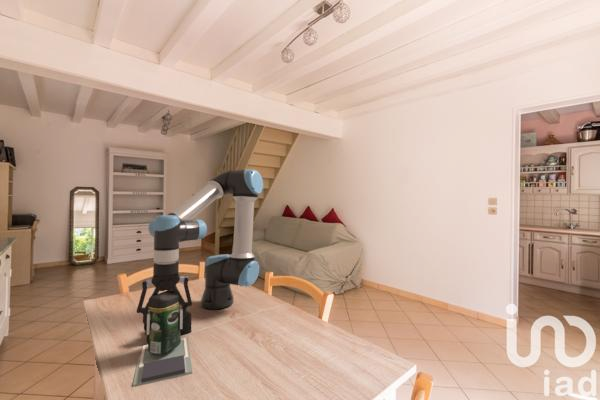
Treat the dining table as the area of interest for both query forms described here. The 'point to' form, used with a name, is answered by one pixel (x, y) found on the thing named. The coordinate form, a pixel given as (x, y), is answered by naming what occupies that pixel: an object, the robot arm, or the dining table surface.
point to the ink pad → (163, 369)
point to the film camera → (185, 325)
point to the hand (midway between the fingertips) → (165, 330)
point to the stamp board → (148, 357)
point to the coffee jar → (164, 323)
